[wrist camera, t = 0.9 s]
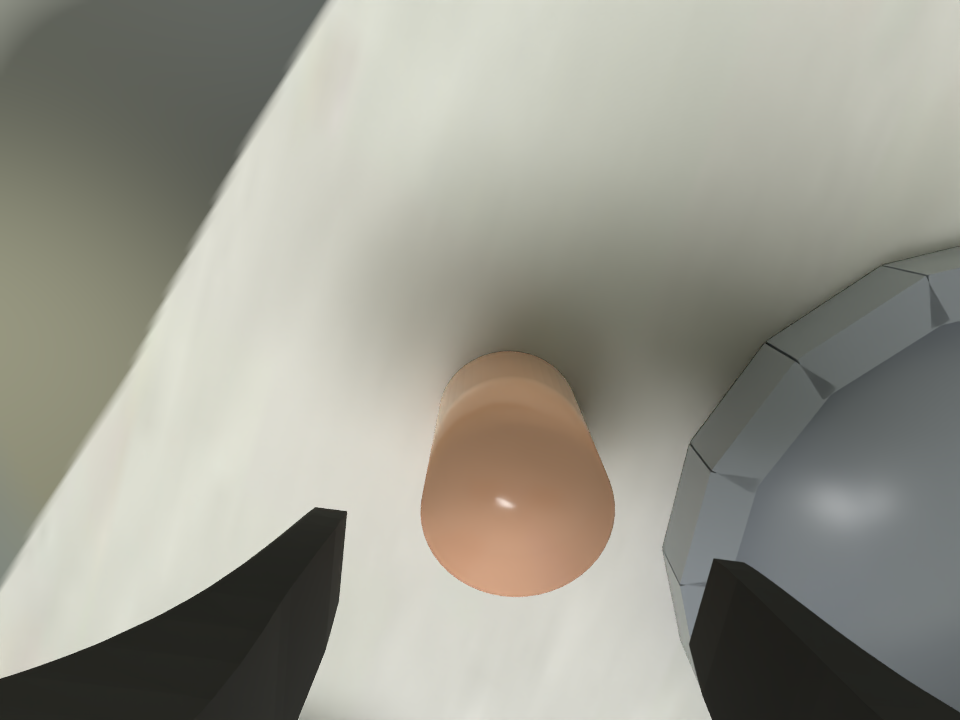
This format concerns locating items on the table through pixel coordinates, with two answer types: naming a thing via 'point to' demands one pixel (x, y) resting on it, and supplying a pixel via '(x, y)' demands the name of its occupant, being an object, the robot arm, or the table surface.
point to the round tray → (843, 472)
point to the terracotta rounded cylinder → (514, 479)
